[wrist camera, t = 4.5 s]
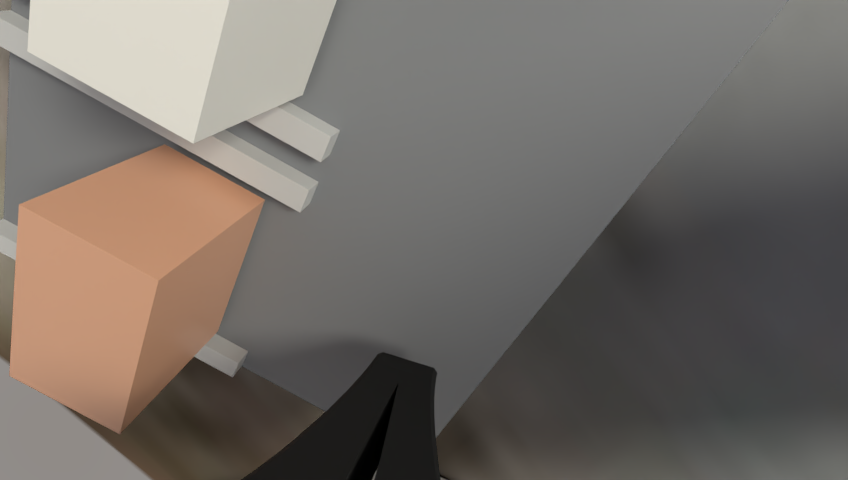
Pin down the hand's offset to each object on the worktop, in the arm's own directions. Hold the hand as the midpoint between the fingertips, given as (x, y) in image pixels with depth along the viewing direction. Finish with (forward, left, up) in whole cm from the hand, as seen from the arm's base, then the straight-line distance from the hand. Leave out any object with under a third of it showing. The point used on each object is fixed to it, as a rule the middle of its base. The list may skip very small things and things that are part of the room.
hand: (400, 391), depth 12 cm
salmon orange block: (+6, 0, -1) cm, 6 cm away
